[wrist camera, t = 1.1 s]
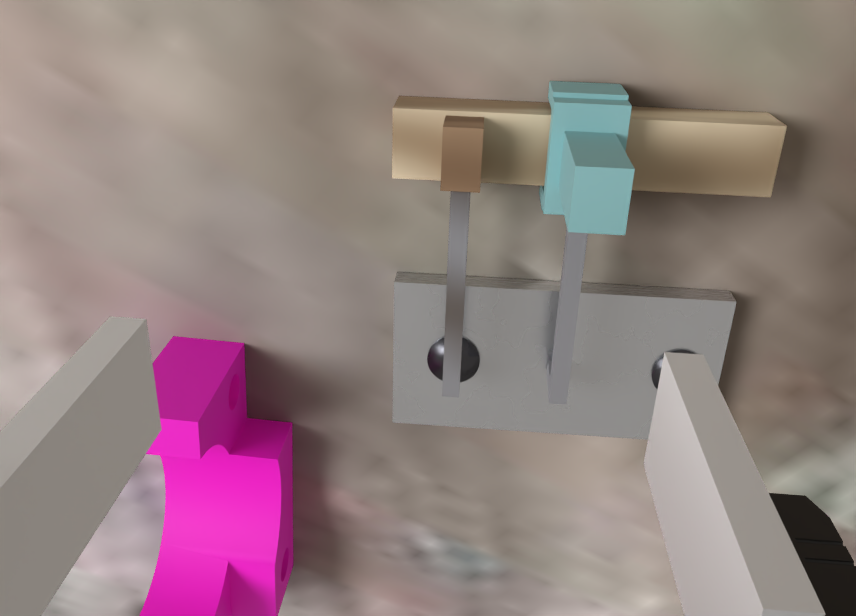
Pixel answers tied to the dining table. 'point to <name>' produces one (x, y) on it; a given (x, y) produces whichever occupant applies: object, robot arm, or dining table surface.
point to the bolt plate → (548, 352)
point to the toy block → (219, 489)
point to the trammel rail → (527, 155)
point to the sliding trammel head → (583, 194)
